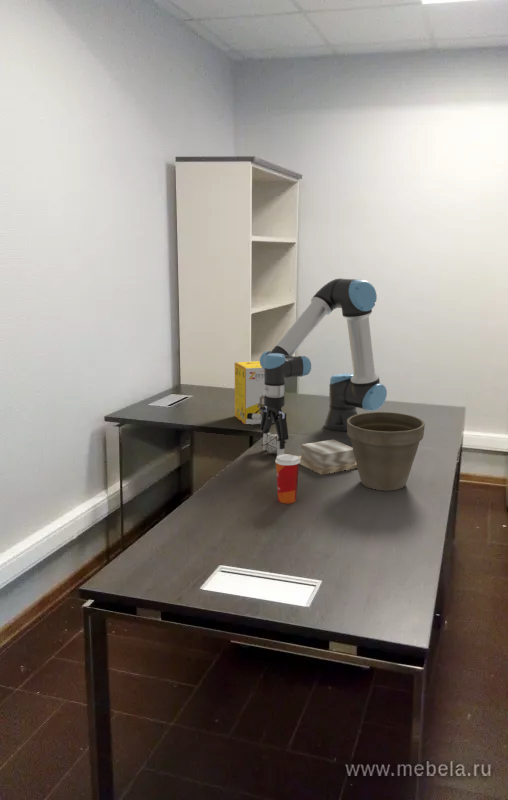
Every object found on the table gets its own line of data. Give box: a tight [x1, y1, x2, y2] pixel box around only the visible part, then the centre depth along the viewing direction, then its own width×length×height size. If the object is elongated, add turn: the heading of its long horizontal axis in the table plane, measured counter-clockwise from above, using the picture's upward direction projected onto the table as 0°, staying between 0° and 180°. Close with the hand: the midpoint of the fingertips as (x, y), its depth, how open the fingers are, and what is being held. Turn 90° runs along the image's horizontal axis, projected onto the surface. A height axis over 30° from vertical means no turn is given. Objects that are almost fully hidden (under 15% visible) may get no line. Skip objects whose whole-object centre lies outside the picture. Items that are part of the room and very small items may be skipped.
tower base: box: [297, 439, 358, 476], centre depth 254 cm, size 18×18×6 cm
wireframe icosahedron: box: [260, 433, 287, 456], centre depth 266 cm, size 9×8×10 cm
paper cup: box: [274, 453, 300, 505], centre depth 217 cm, size 8×8×14 cm
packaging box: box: [234, 360, 274, 425], centre depth 315 cm, size 16×16×25 cm
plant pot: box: [346, 411, 426, 492], centre depth 232 cm, size 25×25×22 cm
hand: (273, 453), depth 266 cm, fingers closed on wireframe icosahedron, 10 cm apart
